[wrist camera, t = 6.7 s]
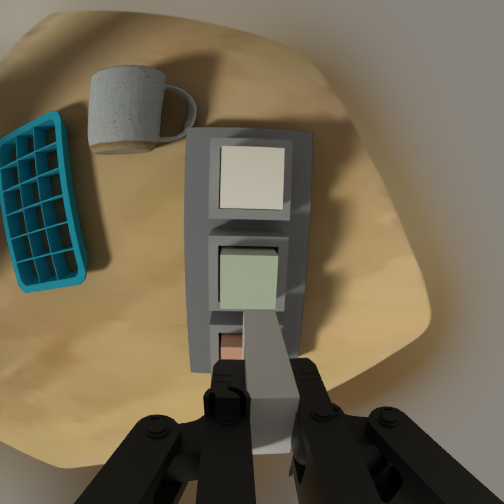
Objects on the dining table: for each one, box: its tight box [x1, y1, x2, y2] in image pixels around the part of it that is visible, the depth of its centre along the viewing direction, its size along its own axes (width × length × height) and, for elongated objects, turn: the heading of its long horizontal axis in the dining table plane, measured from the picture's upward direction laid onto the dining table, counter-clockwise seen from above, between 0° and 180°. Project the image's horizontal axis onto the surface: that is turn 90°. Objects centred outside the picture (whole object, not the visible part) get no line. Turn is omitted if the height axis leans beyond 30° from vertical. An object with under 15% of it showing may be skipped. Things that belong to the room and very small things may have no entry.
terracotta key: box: [221, 333, 243, 360], centre depth 27 cm, size 4×4×4 cm
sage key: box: [220, 246, 278, 309], centre depth 25 cm, size 4×4×4 cm
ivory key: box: [220, 146, 285, 210], centre depth 23 cm, size 4×4×4 cm
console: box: [184, 127, 313, 380], centre depth 29 cm, size 12×26×7 cm, turn 178°
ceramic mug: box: [88, 65, 197, 155], centre depth 25 cm, size 11×8×8 cm
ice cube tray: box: [0, 111, 88, 293], centre depth 28 cm, size 12×20×3 cm, turn 9°
